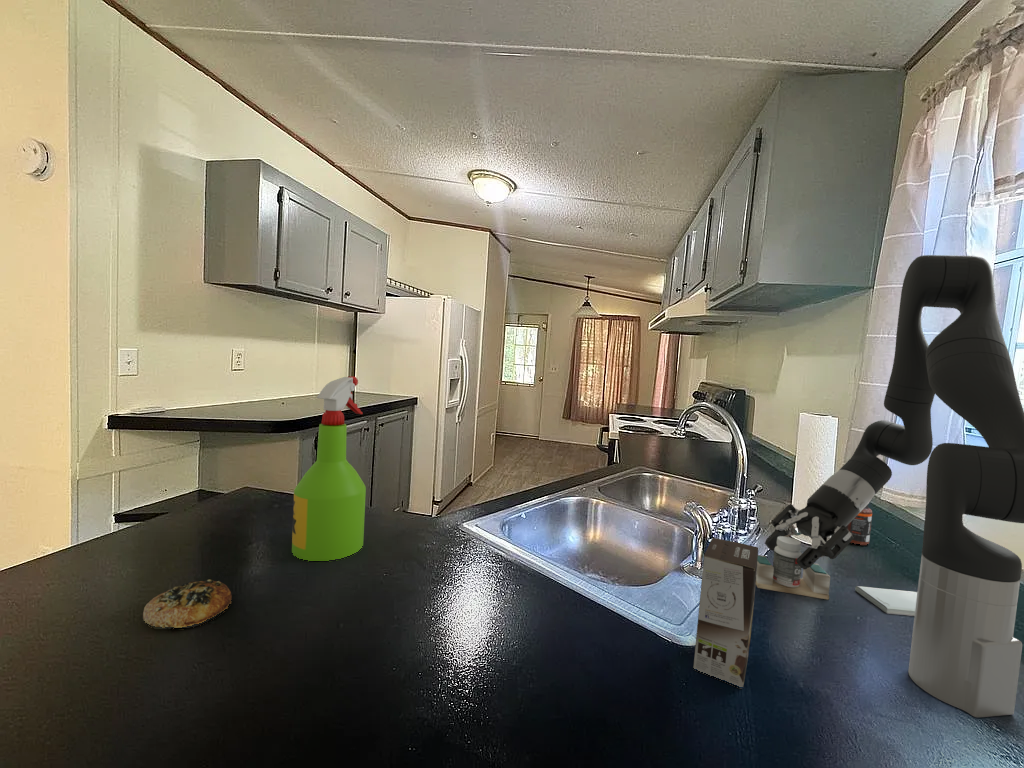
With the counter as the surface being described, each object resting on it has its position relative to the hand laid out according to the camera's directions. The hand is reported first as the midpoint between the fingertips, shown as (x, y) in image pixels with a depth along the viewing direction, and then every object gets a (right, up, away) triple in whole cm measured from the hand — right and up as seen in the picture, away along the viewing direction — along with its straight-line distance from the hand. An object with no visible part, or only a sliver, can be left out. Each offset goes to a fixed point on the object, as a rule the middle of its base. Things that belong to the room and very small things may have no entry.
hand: (783, 556), depth 87 cm
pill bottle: (+1, -5, 0) cm, 6 cm away
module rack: (+1, -6, +1) cm, 6 cm away
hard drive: (+20, -8, -4) cm, 22 cm away
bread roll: (-101, -1, -20) cm, 103 cm away
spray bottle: (-90, 0, +7) cm, 91 cm away
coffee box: (-23, -6, -24) cm, 34 cm away
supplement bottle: (+35, -7, +28) cm, 45 cm away
